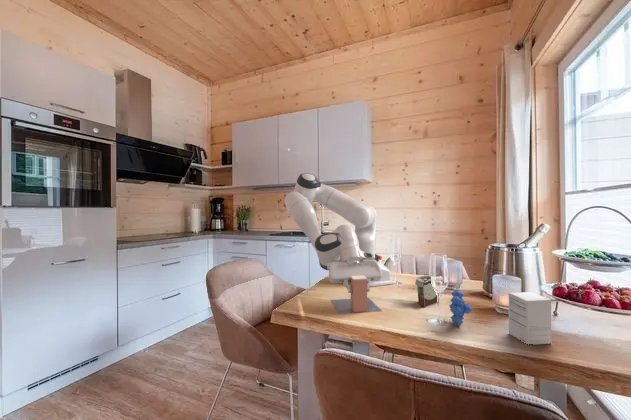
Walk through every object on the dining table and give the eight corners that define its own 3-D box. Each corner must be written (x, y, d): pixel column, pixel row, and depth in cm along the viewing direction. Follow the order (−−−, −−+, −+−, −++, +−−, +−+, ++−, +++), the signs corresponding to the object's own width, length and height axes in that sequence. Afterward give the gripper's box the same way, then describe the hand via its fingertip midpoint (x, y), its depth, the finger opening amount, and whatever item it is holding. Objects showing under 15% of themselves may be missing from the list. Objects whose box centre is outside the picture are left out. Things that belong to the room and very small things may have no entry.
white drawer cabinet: (531, 332, 87) (531, 291, 87) (552, 344, 80) (552, 299, 79) (507, 333, 87) (507, 292, 87) (526, 345, 79) (526, 300, 79)
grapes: (471, 335, 85) (471, 296, 85) (446, 330, 89) (446, 292, 89) (473, 321, 95) (473, 286, 95) (451, 317, 99) (451, 283, 99)
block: (363, 307, 107) (363, 275, 106) (367, 311, 103) (367, 278, 102) (350, 308, 106) (350, 276, 106) (353, 312, 102) (353, 278, 102)
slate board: (368, 300, 118) (368, 297, 118) (382, 313, 103) (382, 311, 103) (330, 302, 116) (330, 299, 115) (339, 316, 101) (338, 314, 101)
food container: (427, 297, 120) (427, 274, 120) (441, 301, 115) (441, 277, 115) (408, 303, 113) (408, 278, 113) (422, 308, 108) (422, 282, 108)
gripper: (326, 255, 109) (332, 288, 100) (378, 254, 112) (388, 285, 103) (324, 265, 114) (329, 297, 104) (374, 263, 117) (383, 294, 107)
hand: (359, 291), depth 103 cm, fingers closed on block, 5 cm apart
